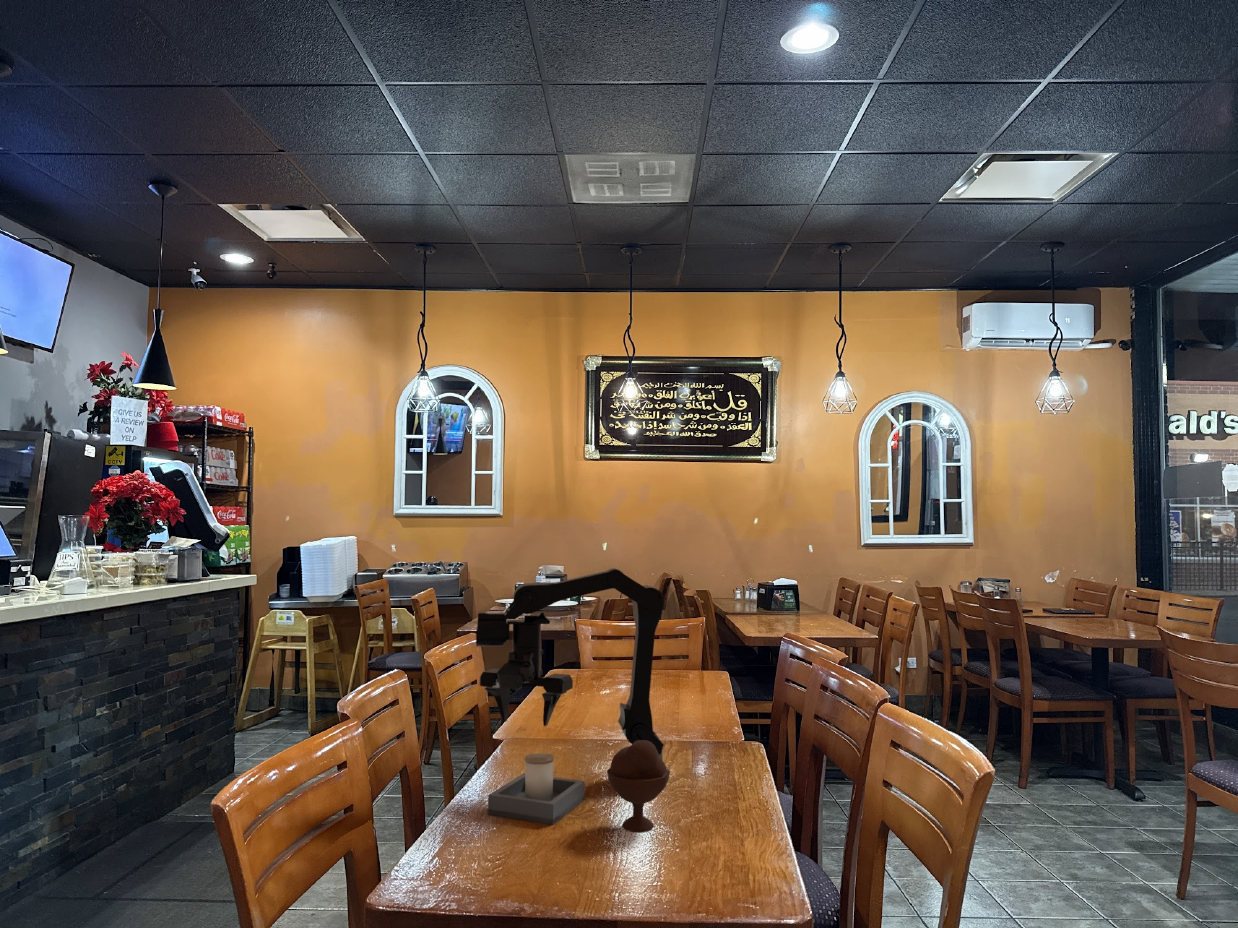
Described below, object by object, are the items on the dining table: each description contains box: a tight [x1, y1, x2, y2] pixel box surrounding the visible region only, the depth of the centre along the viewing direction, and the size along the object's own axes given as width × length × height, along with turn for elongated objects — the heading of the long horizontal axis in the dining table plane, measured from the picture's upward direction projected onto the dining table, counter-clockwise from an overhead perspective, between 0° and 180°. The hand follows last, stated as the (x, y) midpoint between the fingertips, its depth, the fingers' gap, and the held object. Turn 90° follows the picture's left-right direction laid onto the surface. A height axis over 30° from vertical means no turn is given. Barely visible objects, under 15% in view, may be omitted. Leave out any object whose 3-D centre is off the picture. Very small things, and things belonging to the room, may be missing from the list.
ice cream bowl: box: [606, 740, 671, 833], centre depth 142 cm, size 11×11×15 cm
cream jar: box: [524, 752, 555, 801], centre depth 151 cm, size 5×5×8 cm
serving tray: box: [487, 772, 586, 826], centre depth 151 cm, size 13×14×4 cm
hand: (525, 723), depth 165 cm, fingers open, 9 cm apart
